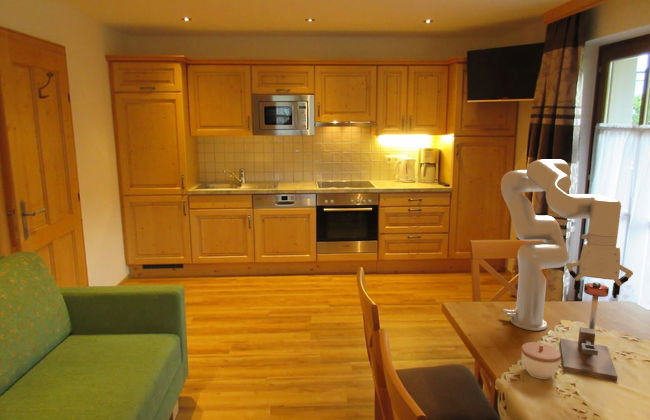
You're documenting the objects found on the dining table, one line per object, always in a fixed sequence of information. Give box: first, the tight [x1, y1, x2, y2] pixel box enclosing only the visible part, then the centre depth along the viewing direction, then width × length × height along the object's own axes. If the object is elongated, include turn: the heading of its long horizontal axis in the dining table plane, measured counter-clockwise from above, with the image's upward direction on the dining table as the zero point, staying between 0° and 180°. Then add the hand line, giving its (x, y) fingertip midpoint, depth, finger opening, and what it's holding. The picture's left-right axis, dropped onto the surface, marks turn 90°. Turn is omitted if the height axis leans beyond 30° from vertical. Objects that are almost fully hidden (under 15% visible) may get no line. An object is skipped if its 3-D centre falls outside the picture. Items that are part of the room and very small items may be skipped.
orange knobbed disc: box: [583, 281, 610, 330], centre depth 136 cm, size 6×6×14 cm
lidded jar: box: [521, 341, 562, 380], centre depth 135 cm, size 11×11×9 cm
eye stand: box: [559, 326, 619, 382], centre depth 143 cm, size 14×20×8 cm
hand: (595, 294), depth 136 cm, fingers open, 9 cm apart
